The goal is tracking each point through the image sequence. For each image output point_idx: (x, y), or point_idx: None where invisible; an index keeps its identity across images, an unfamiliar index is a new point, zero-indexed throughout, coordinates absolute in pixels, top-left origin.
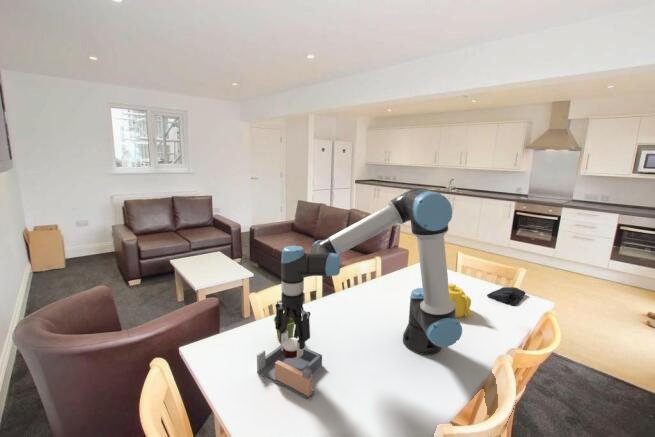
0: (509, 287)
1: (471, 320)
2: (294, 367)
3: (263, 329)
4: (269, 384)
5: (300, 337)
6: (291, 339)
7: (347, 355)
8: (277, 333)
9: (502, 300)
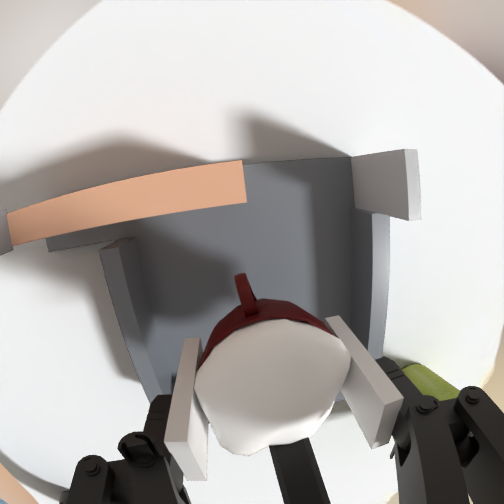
0: None
1: None
2: (228, 303)
3: (476, 348)
4: (243, 139)
5: (138, 482)
6: (279, 422)
7: None
8: (435, 376)
9: None
